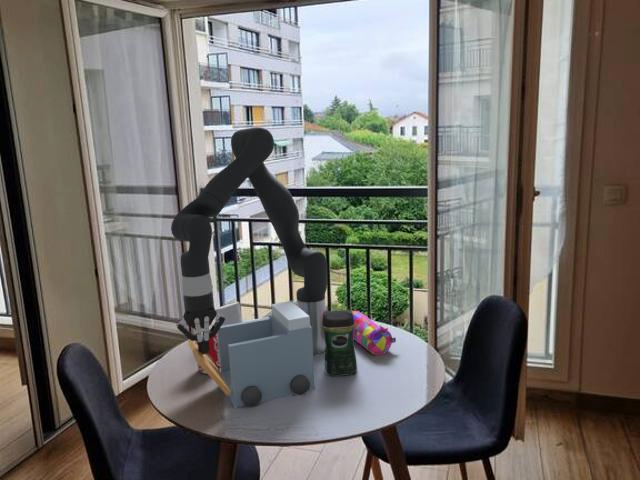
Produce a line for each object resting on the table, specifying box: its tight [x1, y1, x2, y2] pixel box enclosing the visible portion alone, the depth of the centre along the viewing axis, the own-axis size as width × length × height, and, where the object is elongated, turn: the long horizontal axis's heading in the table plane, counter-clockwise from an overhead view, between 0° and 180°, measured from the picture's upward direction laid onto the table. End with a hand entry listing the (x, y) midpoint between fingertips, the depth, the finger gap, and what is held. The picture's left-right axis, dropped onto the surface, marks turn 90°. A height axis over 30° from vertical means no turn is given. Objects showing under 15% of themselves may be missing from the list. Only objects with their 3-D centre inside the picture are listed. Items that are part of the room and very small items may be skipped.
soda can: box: [194, 329, 221, 375], centre depth 157 cm, size 7×7×12 cm
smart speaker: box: [215, 301, 243, 326], centre depth 179 cm, size 10×9×14 cm
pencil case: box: [351, 310, 397, 356], centre depth 172 cm, size 22×9×9 cm, turn 25°
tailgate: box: [186, 338, 231, 397], centre depth 139 cm, size 2×15×13 cm
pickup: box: [217, 300, 316, 409], centre depth 145 cm, size 22×19×21 cm
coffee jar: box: [322, 309, 358, 376], centre depth 152 cm, size 10×8×19 cm
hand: (204, 353), depth 138 cm, fingers closed
